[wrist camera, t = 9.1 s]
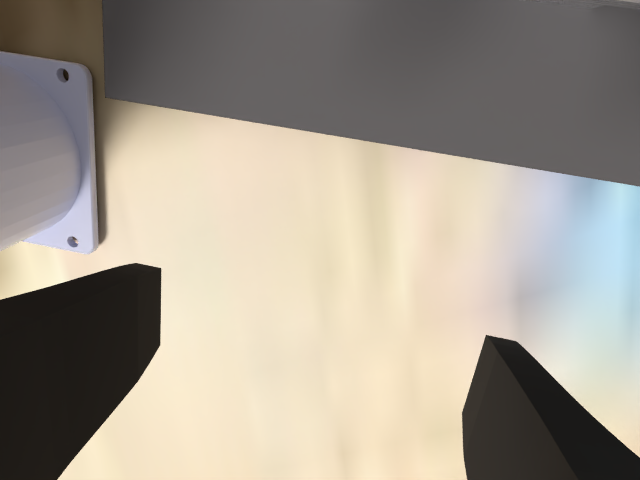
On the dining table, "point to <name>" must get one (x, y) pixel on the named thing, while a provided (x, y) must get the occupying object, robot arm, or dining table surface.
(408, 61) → the dark grey backing panel
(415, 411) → the dining table surface
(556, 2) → the grey metal plate
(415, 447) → the dining table surface
